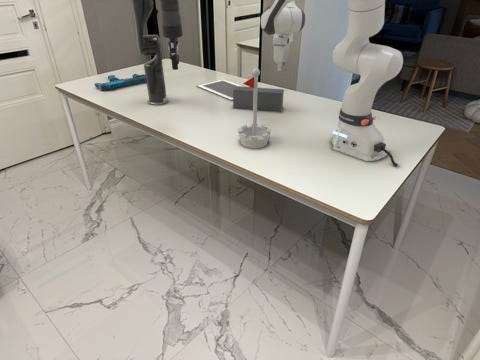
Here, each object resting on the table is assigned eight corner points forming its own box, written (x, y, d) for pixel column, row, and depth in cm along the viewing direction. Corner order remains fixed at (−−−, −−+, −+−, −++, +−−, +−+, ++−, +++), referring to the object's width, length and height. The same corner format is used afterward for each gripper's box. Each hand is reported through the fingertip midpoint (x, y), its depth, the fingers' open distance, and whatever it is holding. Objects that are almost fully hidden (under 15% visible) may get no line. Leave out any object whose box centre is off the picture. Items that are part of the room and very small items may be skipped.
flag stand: (262, 133, 147) (264, 62, 131) (275, 146, 137) (280, 71, 121) (234, 138, 144) (233, 65, 127) (245, 151, 133) (246, 74, 117)
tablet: (197, 86, 202) (197, 85, 202) (223, 79, 213) (223, 79, 213) (231, 100, 182) (231, 99, 181) (258, 92, 193) (258, 91, 193)
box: (282, 107, 173) (283, 89, 168) (281, 112, 168) (282, 93, 163) (236, 104, 178) (235, 85, 172) (233, 108, 173) (233, 89, 167)
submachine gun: (139, 68, 225) (157, 74, 208) (140, 74, 227) (158, 80, 210) (87, 78, 206) (102, 86, 190) (88, 84, 208) (104, 92, 192)
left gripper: (163, 20, 135) (167, 62, 144) (159, 26, 123) (165, 71, 132) (182, 20, 135) (185, 62, 144) (180, 26, 123) (184, 71, 132)
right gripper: (280, 33, 163) (279, 62, 171) (271, 41, 147) (270, 73, 154) (293, 33, 162) (291, 63, 169) (286, 41, 145) (284, 74, 153)
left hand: (175, 66), depth 138 cm, fingers open, 8 cm apart
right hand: (281, 68), depth 161 cm, fingers open, 8 cm apart
